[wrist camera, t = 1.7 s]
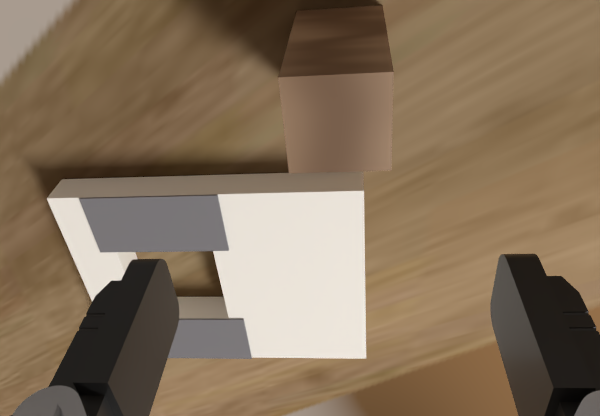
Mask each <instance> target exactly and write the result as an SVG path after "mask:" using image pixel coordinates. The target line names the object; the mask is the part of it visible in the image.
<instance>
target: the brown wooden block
mask: <svg viewBox="0 0 600 416" xmlns="http://www.w3.org/2000/svg"><path fill="white" fill-rule="evenodd" d="M393 73H394V72H393V66H392V60H391V54H390V48H389V42H388V36H387V30H386V24H385V18H384V12H383V6H382V5H378V6H362V7H346V8H330V9H314V10H298V11H296V15H295V19H294V22H293V26H292V29H291V33H290V37H289V40H288V44H287V48H286V51H285V55H284V58H283V62H282V66H281V69H280V73H279V76H278V80H279V89H280V98H281V107H282V116H283V125H284V134H285V143H286V152H287V161H288V170H289V174H290V173H325V172H360V171H391V163H392V118H393Z"/></svg>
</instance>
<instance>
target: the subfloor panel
mask: <svg viewBox="0 0 600 416" xmlns="http://www.w3.org/2000/svg"><path fill="white" fill-rule="evenodd" d="M47 201H48V203H49V205H50V207H51V210H52V212H53V214H54V216H55V219H56V221H57V223H58V225H59V228H60V230H61V232H62V234H63V237H64V239H65V241H66V243H67V246H68V248H69V250H70V253H71V255H72V257H73V259H74V262H75V264H76V266H77V268H78V271H79V273H80V275H81V277H82V280H83V282H84V284H85V286H86V289H87V291H88V293H89V295H90V298H91V300H92V302H93V300H94V298H95V296H96V295H97V294H98V293H99V292H100V291H101V290H102V289H103V288H104V287H105V286H106V285H107V284H108V283H109V282H110V281H119V280H122V277H123V275H124V273H125V271H126V269H127V267H128V265H129V263H130V262H131V261H132V260H134V259H137V256H136V253H135V252H177V251H213V253H214V257H215V262H216V266H217V270H218V274H219V279H220V283H221V287H222V291H223V296H224V297H177V299H178V303H179V323H178V327H177V330H176V333H175V336H174V339H173V343H172V346H171V349H170V352H169V355H168V358H226V359H252V357H264V358H363V359H366V312H365V241H364V182H363V171H360V172H325V173H290V174H289V173H266V174H230V175H195V176H160V177H125V178H89V179H62V180H61V181H60V182H59V183H58V185H57V186H56V187H55V189H54V190H53V191H52V192H51V194H50V195H49V196H48V197H47Z"/></svg>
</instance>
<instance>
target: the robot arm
mask: <svg viewBox="0 0 600 416" xmlns="http://www.w3.org/2000/svg"><path fill="white" fill-rule="evenodd" d="M86 314H87V316H86V317H84V319H83V321H82V323H81V325H80V327H79V331H77V333H76V335H75V337H74V339H73V341H72V343H71V344H70V346H69V348H68V350H67V352H66V354H65V356H64V358H63V360H62V362H61V364H60V366H59V368H58V370H57V372H56V374H55V376H54V378H53V380H52V381H51V383H50V385H49V387H47V388H44V389H42V390H39V391H37V392H36V393H34V394H32V395H31V396H29V397H28V398H27V399H25V400H24V401H23V402H22V403H21V404H20V405H19V406H18V408H17V409H16V410H15V412H14V413H13V415H11V416H149V414H150V411H151V408H152V405H153V401H154V398H155V395H156V392H157V389H158V386H159V383H160V380H161V377H162V374H163V370H164V367H165V364H166V361H167V358H168V355H169V352H170V349H171V346H172V343H173V339H174V336H175V333H176V330H177V327H178V323H179V303H178V299H177V296H176V293H175V289H174V286H173V283H172V280H171V276H170V273H169V270H168V266H167V264H166V262H165V260H163V259H134V260H132V261H131V262H130V263H129V265H128V267H127V269H126V271H125V273H124V275H123V277H122V280H119V281H110V282H109V283H108V284H107V285H106V286H105V287H104V288H103V289H102V290H101V291H100V292H99V293H98V294H97V295H96V296H95V298H94V300H93V302H92V304H91V306H90V307H89V309H88V311H87V313H86ZM491 320H492V326H493V329H494V333H495V336H496V340H497V343H498V346H499V350H500V353H501V357H502V360H503V363H504V367H505V370H506V374H507V377H508V381H509V384H510V388H511V391H512V394H513V398H514V401H515V405H516V408H517V412H518V415H519V416H600V334H599V332H598V331H596V326H595V324H594V322H593V320H592V318H591V316H590V315H589V314H588V310H587V308H586V306H585V304H584V302H583V299H582V297H581V295H580V293H579V292H578V291H577V290H576V289H575V288H574V287H573V286H571V285H570V284H569V283H568V282H567V281H566V280H565V279H564V278H563V277H562V276H546V273H545V271H544V269H543V267H542V264H541V262H540V260H539V258H538V256H537V255H536V254H502V255H500V257H499V260H498V265H497V271H496V276H495V281H494V287H493V292H492V297H491Z"/></svg>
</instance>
